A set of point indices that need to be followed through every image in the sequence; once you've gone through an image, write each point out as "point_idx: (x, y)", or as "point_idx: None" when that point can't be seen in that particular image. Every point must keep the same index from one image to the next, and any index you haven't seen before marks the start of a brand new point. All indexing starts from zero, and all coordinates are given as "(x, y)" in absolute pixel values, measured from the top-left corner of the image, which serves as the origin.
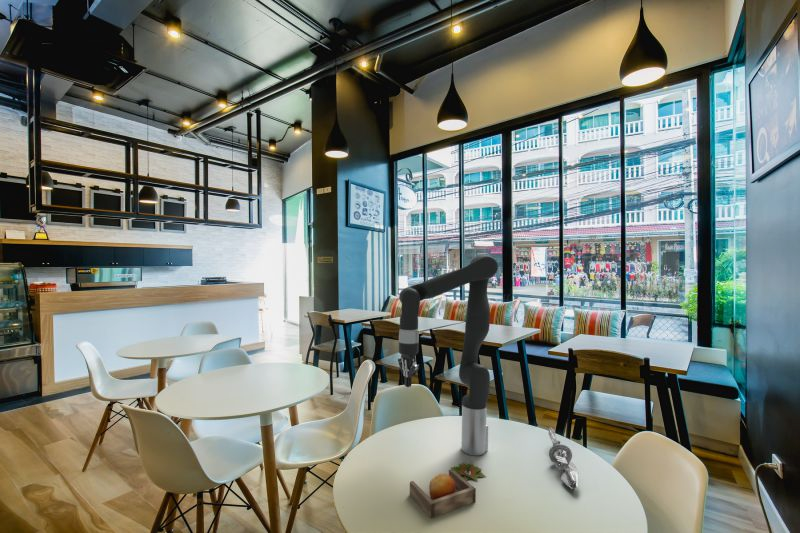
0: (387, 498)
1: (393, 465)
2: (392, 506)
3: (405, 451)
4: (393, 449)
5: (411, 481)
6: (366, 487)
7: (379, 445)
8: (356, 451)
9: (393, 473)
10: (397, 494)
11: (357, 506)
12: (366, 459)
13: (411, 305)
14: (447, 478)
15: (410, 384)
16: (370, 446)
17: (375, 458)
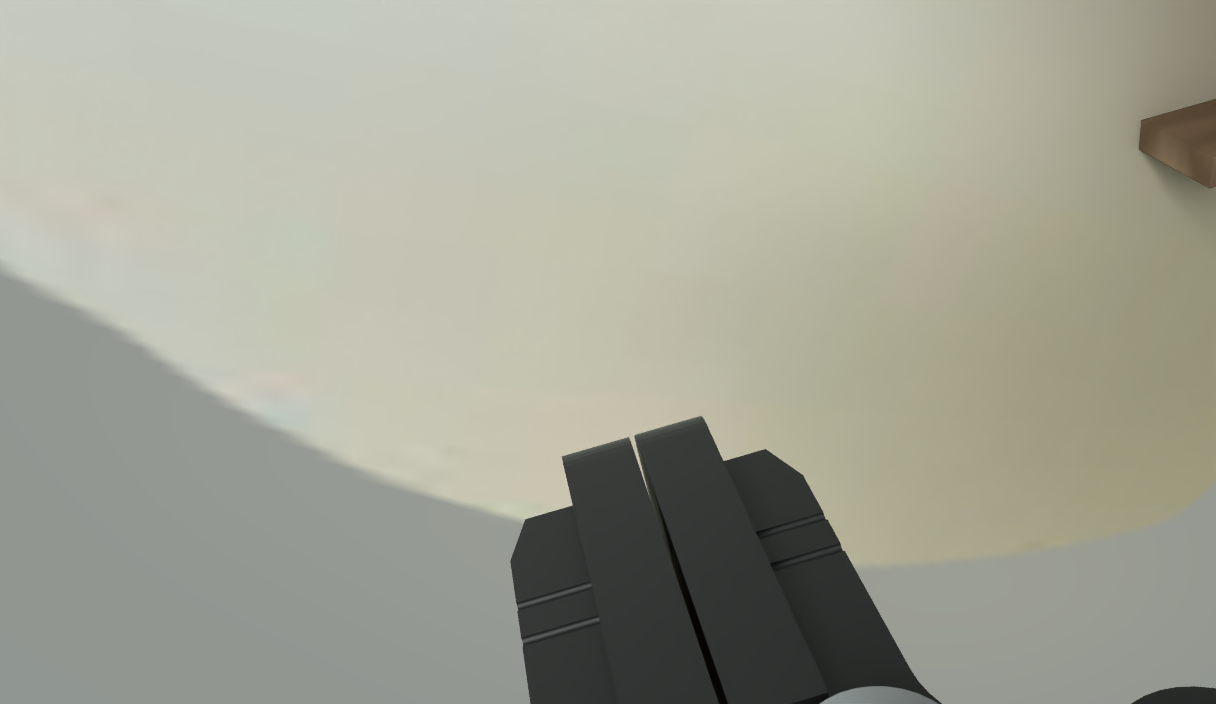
0: (1093, 308)
1: (703, 191)
2: (1181, 289)
3: (456, 2)
4: (387, 131)
5: (1213, 173)
6: (918, 423)
7: (274, 264)
8: (377, 472)
9: (825, 215)
10: (1089, 235)
11: (1070, 479)
12: (538, 402)
13: None
14: None
15: (805, 507)
16: (288, 352)
17: (538, 329)
